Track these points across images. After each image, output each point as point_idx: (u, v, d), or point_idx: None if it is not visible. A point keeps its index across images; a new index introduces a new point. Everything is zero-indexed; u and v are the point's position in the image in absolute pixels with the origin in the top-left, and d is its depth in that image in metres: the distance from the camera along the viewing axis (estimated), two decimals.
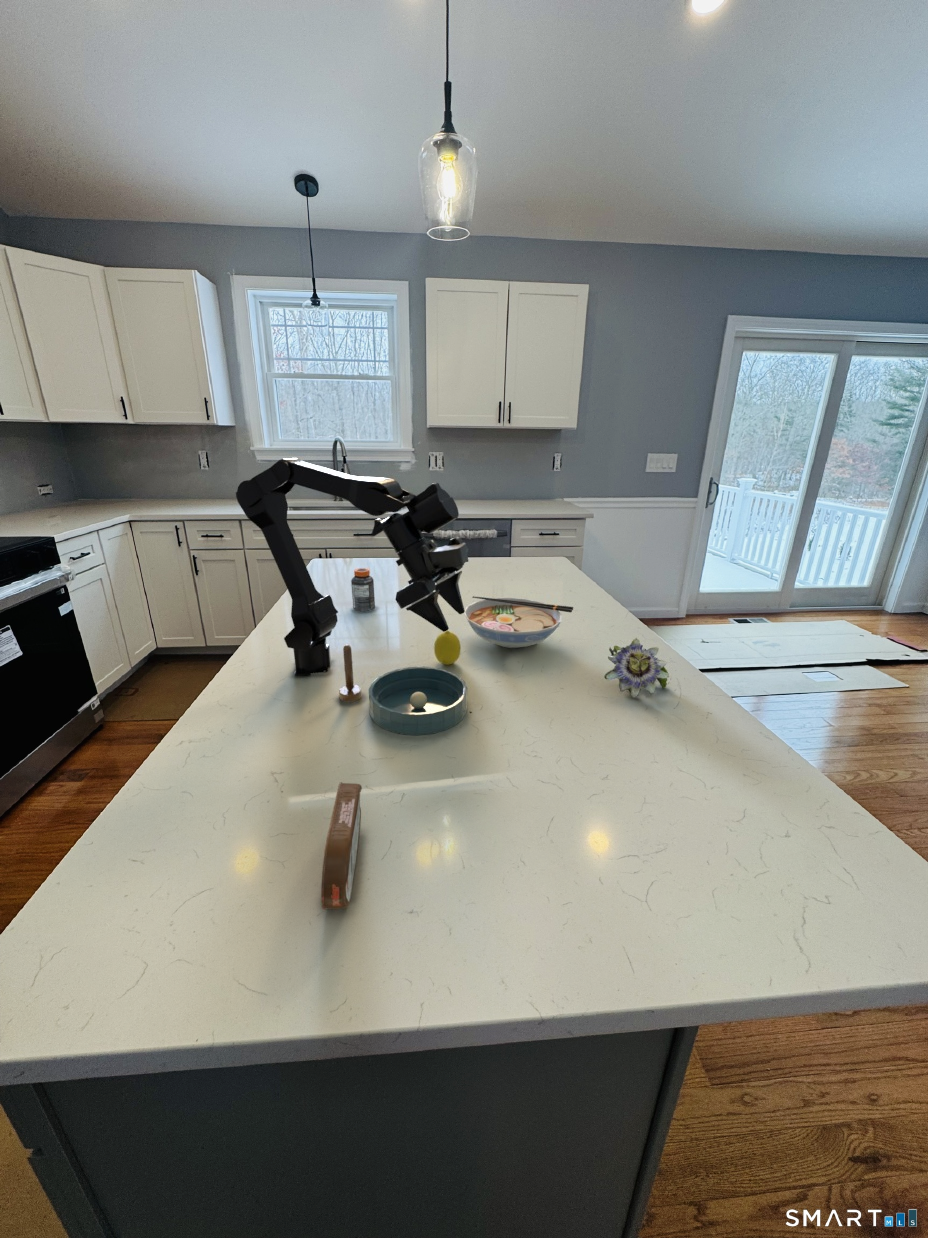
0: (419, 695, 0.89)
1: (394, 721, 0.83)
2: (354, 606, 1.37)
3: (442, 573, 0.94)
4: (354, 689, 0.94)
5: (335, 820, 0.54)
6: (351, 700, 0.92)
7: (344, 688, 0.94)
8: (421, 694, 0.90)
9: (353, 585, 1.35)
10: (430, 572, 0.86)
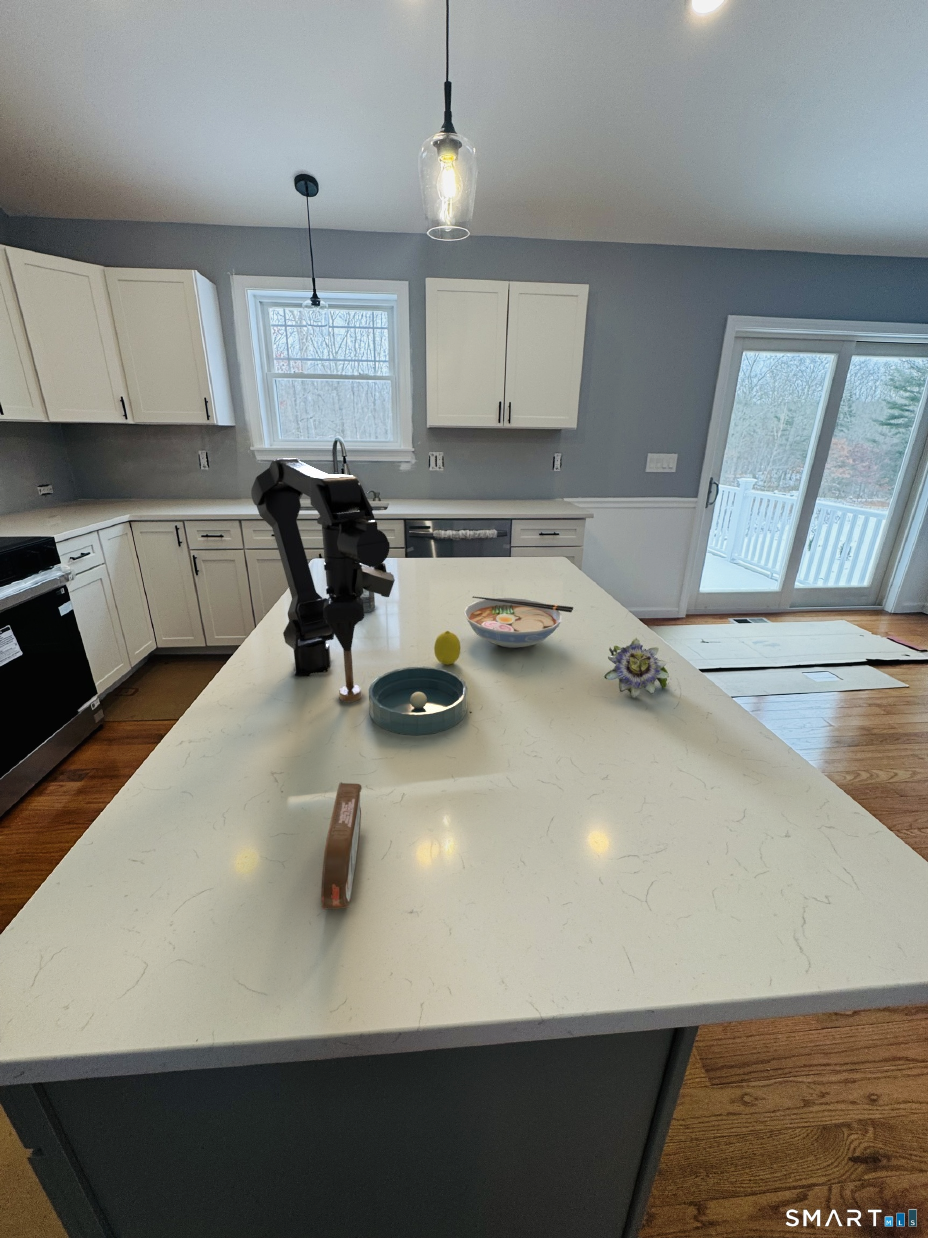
0: (419, 695, 0.89)
1: (394, 721, 0.83)
2: None
3: None
4: (354, 689, 0.94)
5: (335, 820, 0.54)
6: (351, 700, 0.92)
7: (344, 688, 0.94)
8: (421, 694, 0.90)
9: None
10: (357, 591, 0.84)
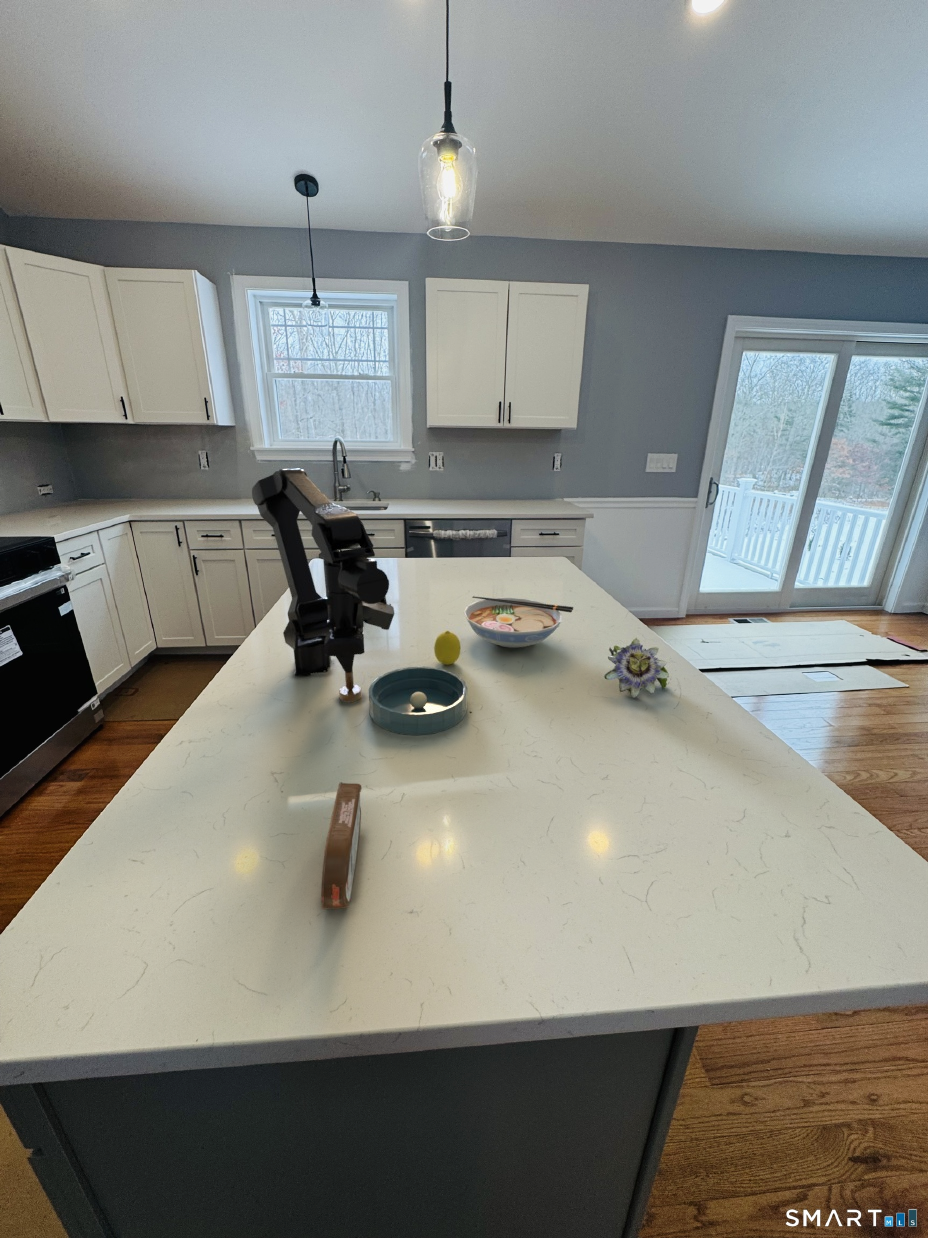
0: (419, 695, 0.89)
1: (394, 721, 0.83)
2: None
3: None
4: (354, 689, 0.94)
5: (335, 820, 0.54)
6: (351, 700, 0.92)
7: (344, 688, 0.94)
8: (421, 694, 0.90)
9: None
10: (357, 624, 0.86)
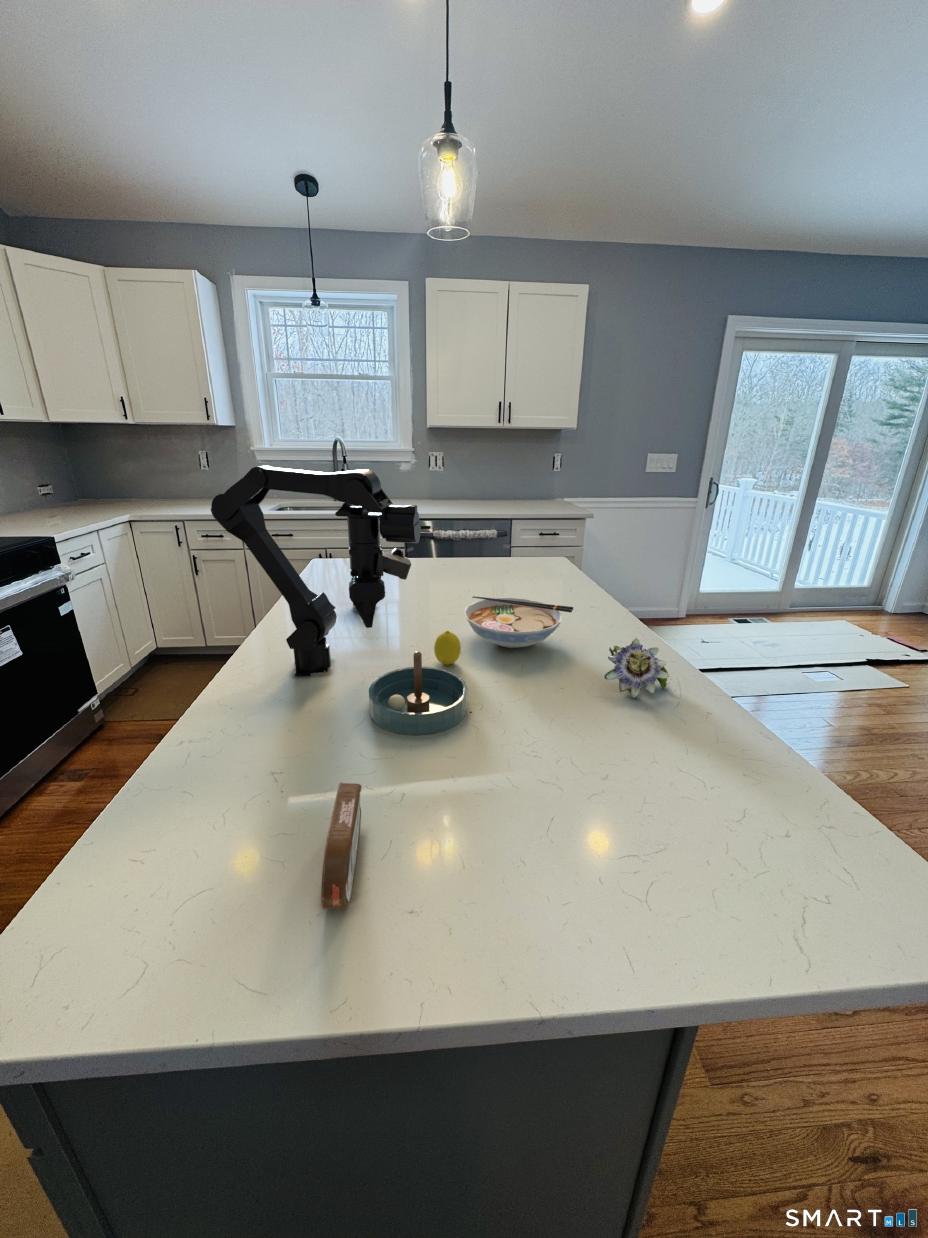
0: None
1: (394, 721, 0.83)
2: (354, 606, 1.37)
3: None
4: (422, 697, 0.90)
5: (335, 820, 0.54)
6: (420, 708, 0.89)
7: (412, 696, 0.91)
8: None
9: None
10: (377, 573, 0.94)
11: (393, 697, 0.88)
